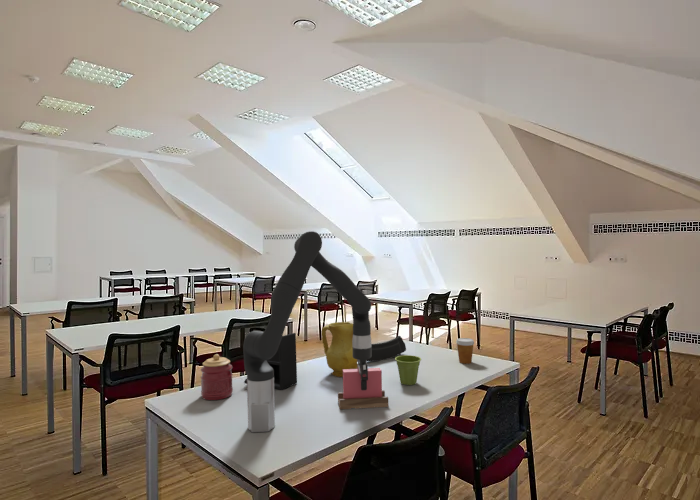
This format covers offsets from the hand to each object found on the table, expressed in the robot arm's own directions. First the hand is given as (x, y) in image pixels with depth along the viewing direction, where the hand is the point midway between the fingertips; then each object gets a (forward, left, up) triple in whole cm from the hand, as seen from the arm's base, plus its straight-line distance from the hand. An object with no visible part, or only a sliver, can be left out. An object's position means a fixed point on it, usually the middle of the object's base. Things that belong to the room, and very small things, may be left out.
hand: (362, 386), depth 175 cm
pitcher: (+44, +4, -7) cm, 45 cm away
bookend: (+33, +39, -7) cm, 51 cm away
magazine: (+68, -22, -7) cm, 71 cm away
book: (0, 0, -5) cm, 5 cm away
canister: (+19, +60, -7) cm, 63 cm away
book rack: (0, 0, -7) cm, 7 cm away
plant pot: (+23, -24, -7) cm, 34 cm away
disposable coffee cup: (+53, -62, -7) cm, 82 cm away
